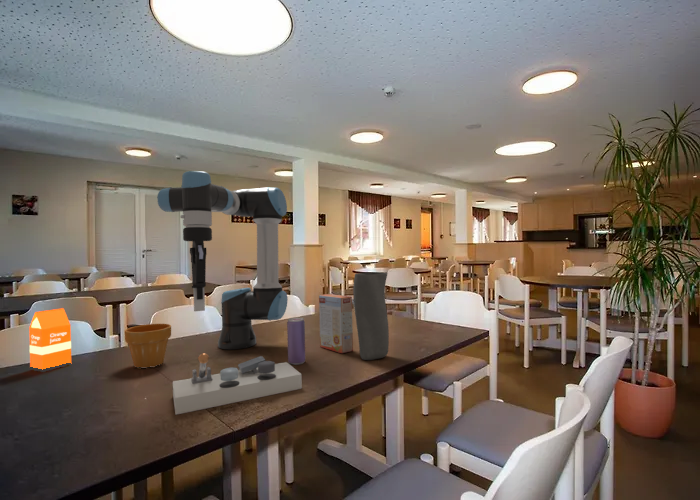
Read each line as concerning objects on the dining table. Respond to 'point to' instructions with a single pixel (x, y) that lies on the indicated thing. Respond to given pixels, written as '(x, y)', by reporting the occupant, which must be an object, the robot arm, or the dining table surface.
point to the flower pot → (148, 343)
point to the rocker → (250, 364)
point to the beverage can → (296, 341)
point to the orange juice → (50, 339)
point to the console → (232, 387)
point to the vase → (371, 314)
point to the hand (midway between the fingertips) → (199, 310)
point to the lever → (203, 364)
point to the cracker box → (336, 322)
